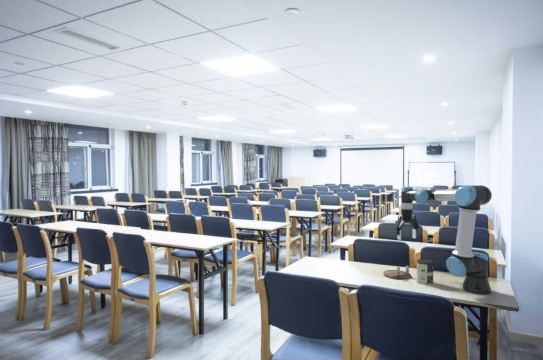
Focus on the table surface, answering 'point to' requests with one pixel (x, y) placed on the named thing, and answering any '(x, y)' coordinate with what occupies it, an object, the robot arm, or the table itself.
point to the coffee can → (425, 271)
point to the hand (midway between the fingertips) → (406, 238)
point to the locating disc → (397, 273)
